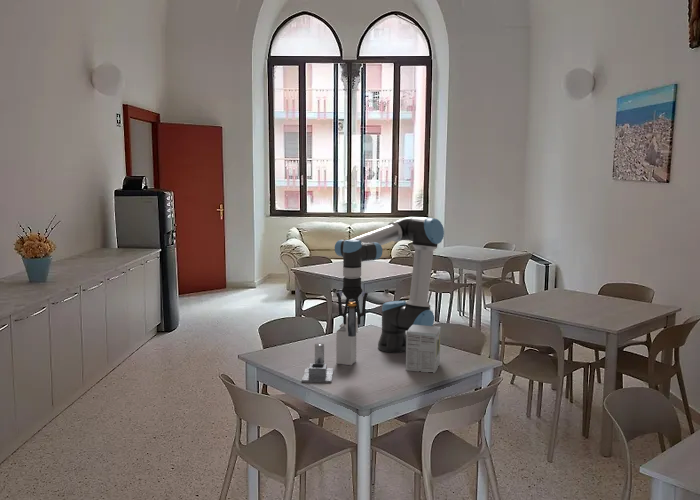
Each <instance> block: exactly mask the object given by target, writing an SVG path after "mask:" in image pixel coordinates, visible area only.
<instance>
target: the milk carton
mask: <svg viewBox="0 0 700 500" xmlns="http://www.w3.org/2000/svg"><path fill="white" fill-rule="evenodd" d="M335 339H336V341H335V343H336V344H335V345H336V349H335V351H336V358H335V359H336V364H337V365H344V366H345V365H346V366H352V365H353V364H355V363H356V362H357V335H356V336H354V337H350V336H348V333H346V324H343V322H342V323H341V324H339V329H338V330H337V331H336V338H335Z"/></svg>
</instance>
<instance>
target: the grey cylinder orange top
mask: <svg viewBox="0 0 700 500" xmlns="http://www.w3.org/2000/svg"><path fill="white" fill-rule="evenodd" d="M347 306H348V309H347V316H348V336H350V337H354V336H356V337H357V333H356V316H357V310H356V306H357V304H355V301H349V303H347Z"/></svg>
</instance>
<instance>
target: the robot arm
mask: <svg viewBox="0 0 700 500" xmlns="http://www.w3.org/2000/svg"><path fill="white" fill-rule="evenodd" d="M443 225H444V224H442V222H441V221H440V220H439V219H437V218H434V217H424V216H408V217H403V218H399V219H397V220H394V221H391V222H389V223H388V224H387V225H386V226H384V227H380V228H378V229H376V230H372V231H370V232H367V233H364V234H361V235H359V236H356V237H352V238H350V239H339V240H337V241H336V242H335V243H334V244H335V245H334V253H335V254H336V256H338V257H341V258H342V259H343V261H342V262H343V263H342V265H343V268H342V269H343V270H342V276H343V278H342V289H341V290H340V291H336V297H337V303H338V304H337V305H338V315H339V316H341V317H342V318H343V320H342V321H343V322H342V323H343V324H346V333H348V306H347V303H349V302H350V300H354V302H355V304H357V306H356V334H358V333H359V332H358V331H359V330H358V326H359V325H361V317H364V316H365V315H366V314H365V313H366V303H367V297H368V294H369V292H367V291H363V289H362V278H361V276H362V262H370V261H375V260H376V261H377V260H380V258H381V257H382V255H383V247H382V246H384V245H385V244H389V243H391V242H393V243H396V242H400V241H411V242H412V247H413V248H414V254H413V255H414V257H413V262H412V263H413V265H412V266H413V267H412V273H411V283H410V291H409V299H408V300H407V301H405V300H394V301H393V300H392V301H386V302H383V304H382V306H381V307H382V308H381V334H380V336H379V340H378V342H377V349H378V350H379V351H381V352H382V351H383V352H385V353H405V352H406V332H407V330H408V329H409V328H410V327H411V326H412V325H425V326H434V323H435V314H434V312H433V311H432V310H431V305H430V303H429V292H430V286H431V285H430V283H431V275H432V266H433V258H434V256H433V255H434V251H436V249H438V244H440V243H442V242H443V239H444V235H445V229H444V226H443ZM343 295H344V297H345V298H346V299H345V305H344V311H343V310H342V309H343V305H342V297H343ZM360 296H361V297H362V305H361V306H362V307H361V308H362V309H360V303H359V297H360Z"/></svg>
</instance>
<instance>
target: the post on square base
mask: <svg viewBox="0 0 700 500" xmlns="http://www.w3.org/2000/svg"><path fill="white" fill-rule="evenodd" d="M333 375H334V367H331V368H330V367H328V363H327V362H326V363H325V343H321V342H319V343H318V342H317V343H314V362H310V363H309V367H305V370H304V372H303V376H302V378H301V383H307V384H308V383H311V384H312V383H314V384H317V383H318V384H332V381H333Z"/></svg>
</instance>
